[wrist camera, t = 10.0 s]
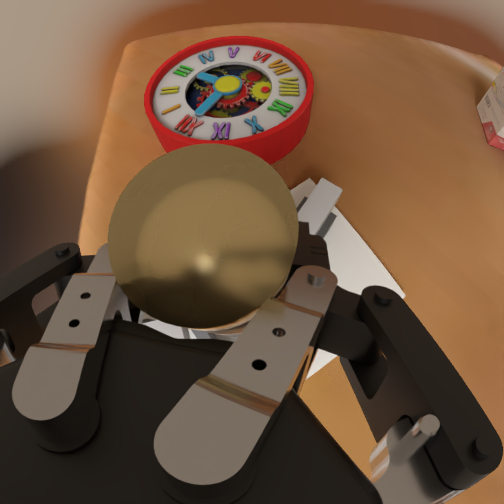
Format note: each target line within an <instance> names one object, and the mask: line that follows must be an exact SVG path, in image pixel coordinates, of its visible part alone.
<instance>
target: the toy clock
mask: <svg viewBox="0 0 504 504" xmlns="http://www.w3.org/2000/svg"><path fill="white" fill-rule="evenodd" d="M313 88H314V81H313V77H312V73H311V71H310V69H309V67H308V65H307V64H306V63H305V61H304V60H303V59H302V58H301V57H300V56H299V55H298V54H296V53H295V52H294V51H292V50H291V49H289V48H287V47H286V46H284V45H282V44H279V43H277V42H274V41H271V40H267V39H263V38H258V37H250V36H228V37H220V38H214V39H209V40H206V41H202V42H199V43H196V44H194V45H192V46H189V47H187V48H185V49H183V50H181V51H179V52H178V53H176V54H175V55H173V56H172V57H170V58H169V59H168V60H166V61H165V62H164V63H163V64H162V65H161V66H160V67H159V68H158V69H157V70H156V72H155V73H154V74H153V76H152V77H151V79H150V81H149V83H148V85H147V87H146V91H145V94H144V106H145V111H146V114H147V116H148V118H149V120H150V123H151V125H152V127H153V129H154V131H155V133H156V135H157V137H158V139H159V141H160V143H161V144H162V146H163V148H164V150H165V151H166V152H167V153H169V152H171V151H173V150H176V149H179V148H182V147H186V146H191V145H197V144H224V145H230V146H234V147H238V148H241V149H243V150H246V151H249V152H251V153H253V154H254V155H256V156H258V157H260V158H261V159H263V160H264V161H265V162H267V163H268V164H269V165H270V164H272V163H274V162H276V161H278V160H280V159H282V158H283V157H284V156H286V155H287V154H288V153H290V152H291V151H292V150H293V149H294V148H295V147H296V146H297V145H298V143H299V142H300V141H301V139H302V138H303V136H304V134H305V133H306V130H307V126H308V123H309V118H310V111H311V104H312V98H313Z"/></svg>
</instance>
